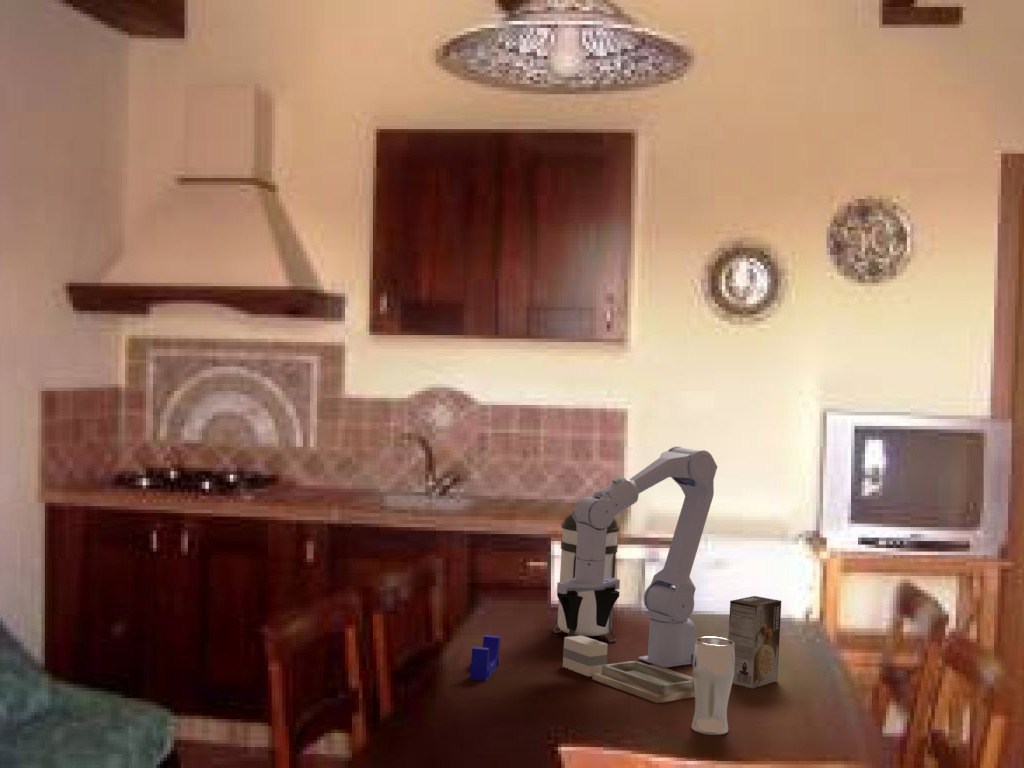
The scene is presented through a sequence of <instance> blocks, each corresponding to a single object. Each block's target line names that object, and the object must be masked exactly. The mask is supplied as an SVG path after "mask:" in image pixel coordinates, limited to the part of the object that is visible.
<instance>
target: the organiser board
mask: <svg viewBox="0 0 1024 768" xmlns="http://www.w3.org/2000/svg"><path fill="white" fill-rule="evenodd" d="M690 665H693V654H691V664H690ZM591 677H592V678H591V679H592V680H593V681H595V682H599V683H601V684H605V685H607V686H610V687H612V688H615V689H617V690H621V691H623V692H625V693H629V694H632V695H634V696H637V697H640V698H641V699H645V700H648V701H650V702H653V703H655V704H660V703H666V702H667V703H668V702H672V701H677V700H684V699H691V698H695V694H694V685H693V676H689V675H687V674H684V673H681V672H678V671H674V670H672V669H669V668H667V667H666V668H665V667H661V666H658V665H655V664H647V663H644V662H641V661H637V660H631V661H622V662H616V663H607V665H602V672H596V673H593V676H591Z"/></svg>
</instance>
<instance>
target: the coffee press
mask: <svg viewBox="0 0 1024 768" xmlns="http://www.w3.org/2000/svg"><path fill="white" fill-rule="evenodd" d="M563 519H564V520H563V522H561V523H560V524H561V525H560V528H561V529H562V537H561V541H560V549H561V553H560V555H561V556H560V557H561V558H560V572H559V573H560V574H559V582H565V581H569V580H573V578H575V567H576V548H577V530H576V527H577V525H576V522H575V520H574V518H573V515H572V512H571V513H569V514H568V515H566V516H565V517H564V518H563ZM619 531H620V526H619V525H618V522H617V520H616V518H614V519H613V522H612V523H611V525H610V526H609V527H607V534H606V551H605V569H604V578H615V576H616V566H617V565H616V563H617V553H618V548H619V547H618V546H619V543H618V533H619ZM615 579H616V578H615ZM576 594H578V595H577V596H581V597H583V599H582V602H581V605H580V608H579V613H578V623H577V629H576V630H570V629H567V625H566V619H565V614H564V611H563V608H562V605H561V603H560V600H559V599H558V605H557V606H558V607H557V609H558V610H557V622H555V625H553V627H552V631H553V633H554V634H558V633H560V632H562V631H563V632H564V633H567V637H571V636H580V635H582V636H585V637H595V636H597V637H598V636H601V637H604V638H605V639H606V641H608V642H609V643H613V642H615V641H617V636H616V634H615V632H614V630H613V616H614V615H613V614H614V613H613V611H614V606H613V607H612V609H611V612H610V615H609V618H608V621H607V624H606V627H601V626H598V625H597V623H596V599H595V593H594V591H583V592H576ZM557 627H558V628H559V629H560V630H557V629H556V628H557ZM609 633H610V635H611V636H612V638H613V640H612V639H611V638H610V636H609V635H608V634H609Z"/></svg>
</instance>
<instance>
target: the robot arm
mask: <svg viewBox="0 0 1024 768" xmlns="http://www.w3.org/2000/svg"><path fill="white" fill-rule="evenodd" d="M717 470H718V465H717V462H716V461H715V459H714V457H713V455H712V454H711V453H710V452H709V451H707V450H705V449H704V450H703V449H693V448H691V449H690V448H686V447H685V448H684V447H680V446H672V447H670V448H668V450H666V451H663V452H662V453H661V454H660V456H659V457H658V458H657V459H656V460H654V461H653V462H652V463H650V464H649V465H647V466H646V467H644V469H642V470H640V471H639V472H638V473H636V474H635V475H633V476H632V477H631V478H629V479H628V478H626V477H621V478H619V477H615V478H613V479H612V480H611V481H612V483H610V484H609V485H607V486H606V487H604V488H603V489H601V490H598V489H597V490H596V491H594V494H593V495H592V496H584V497H581V498H580V499H579V500H578V501H576V504H575V506H574V509H573V510H572V511H571V513H572V515H573V518H574V520H575V522H576V525H577V527H576V530H577V548H576V567H575V578H573V580H569V581H565V582H560V581H559V582H557V583H556V585H557V586H556V596H557V598H558V601H559V600H560V603H561V605H562V608H563V611H564V614H565V619H566V625H567V629H570V630H576V629H577V623H578V613H579V608H580V605H581V602H582V599H583V597H581V596H577V595H578V594H576V592H583V591H594V593H595V599H596V623H597V625H598V626H601V627H606V624H607V621H608V618H609V615H610V612H611V609H612V607H613V608H614V605H615V603H616V602H617V600H618V599H619V597H620V591H619V590H620V589H621V587H620V586H621V585H620V584H621V579H618V578H604V569H605V551H606V534H607V527H609V526H610V525H611V523H612V522H613V519H615V517H616V516H618V515H619V514H620V513H622V512H624V511H625V510H627V509H628V508H629V507H630V508H631V506H633V505H634V504H636V503H638V500H639V495H640V494H641V493H643V492H645V491H647V490H649V489H650V488H652V487H654V486H656V485H657V484H659V483H661V482H662V481H664V480H667V479H668V478H671V479H672V480H673V481H674V482H675V483H676V484H677V485H678V486H679V487H680V489H681V490H682V492H683V494H684V499H683V503H682V507H681V509H680V511H679V512H680V514H679V516H678V519H677V522H676V525H675V529H674V533H673V535H672V536H673V537H672V539H671V543H670V546H669V549H668V553H667V556H666V560H665V563H664V566H663V568H662V569H660V571H658V572H656V573H655V574H654V575H653V577H652V579H651V582H650V584H649V585H648V586H647V588H646V589H645V592H644V595H643V604H644V607H645V609H646V610H647V611H648V616H649V633H648V646H647V647H648V648H647V649H648V650H647V651H648V652H647V655H642V656H638V660H641V661H644V662H646V663H649V664H651V665H653V664H654V665H657V666H660V667H663V668H666V669H667V668H673V667H679V666H687V665H692V664H691V654H694V647H695V639H696V638H697V628H696V626H695V623H694V622H693V620H691V619H690V617H691V615H692V614H693V612H694V608H695V592H696V585H694V582H693V581H692V579H691V577H690V576H691V572H692V570H693V566H694V562H695V559H696V555H697V553H698V549H699V546H700V542H701V539H702V535H703V531H704V529H705V525H706V522H707V519H708V516H709V515H708V514H709V511H710V508H711V504H712V503H713V498H714V493H715V491H714V490H715V489H714V482H715V481H714V479H715V477H716V472H717Z"/></svg>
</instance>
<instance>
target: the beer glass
mask: <svg viewBox="0 0 1024 768" xmlns="http://www.w3.org/2000/svg"><path fill="white" fill-rule="evenodd" d="M734 644H735V643H734V642H733V641H732V640H729V639H728V638H725V637H718V636H700V637H696V639H695V647H694V654H693V664H692V669H691V670H692V673H691V674H692V677H693V685H694V694H695V697H694V714H693V717H692V722H691V729H692V730H693V731H694V732H696V733H700V734H702V735H709V736H721V735H725V734H727V733H728V732H729V723H728V705H729V699H730V696H731V691H732V686H733V677H734V668H735V648H734Z"/></svg>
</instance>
